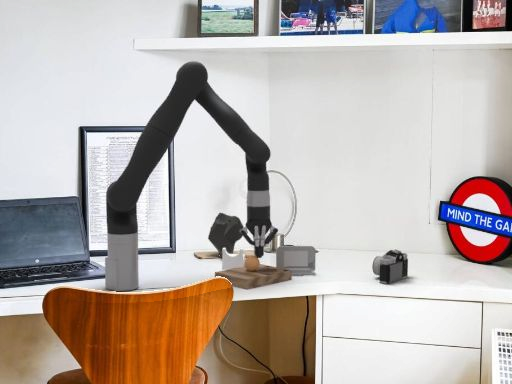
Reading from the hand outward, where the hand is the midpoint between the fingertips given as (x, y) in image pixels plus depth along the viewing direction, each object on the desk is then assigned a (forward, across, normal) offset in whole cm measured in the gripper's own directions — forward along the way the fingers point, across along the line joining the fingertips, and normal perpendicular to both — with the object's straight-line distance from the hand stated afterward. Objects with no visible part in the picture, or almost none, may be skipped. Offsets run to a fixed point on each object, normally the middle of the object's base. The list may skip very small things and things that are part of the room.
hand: (259, 257), depth 217 cm
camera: (+8, +42, -7) cm, 44 cm away
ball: (+2, -2, 0) cm, 3 cm away
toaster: (+8, +14, +8) cm, 18 cm away
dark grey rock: (+8, -4, +39) cm, 40 cm away
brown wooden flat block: (+7, -2, -1) cm, 8 cm away
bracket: (+8, -4, +24) cm, 26 cm away
